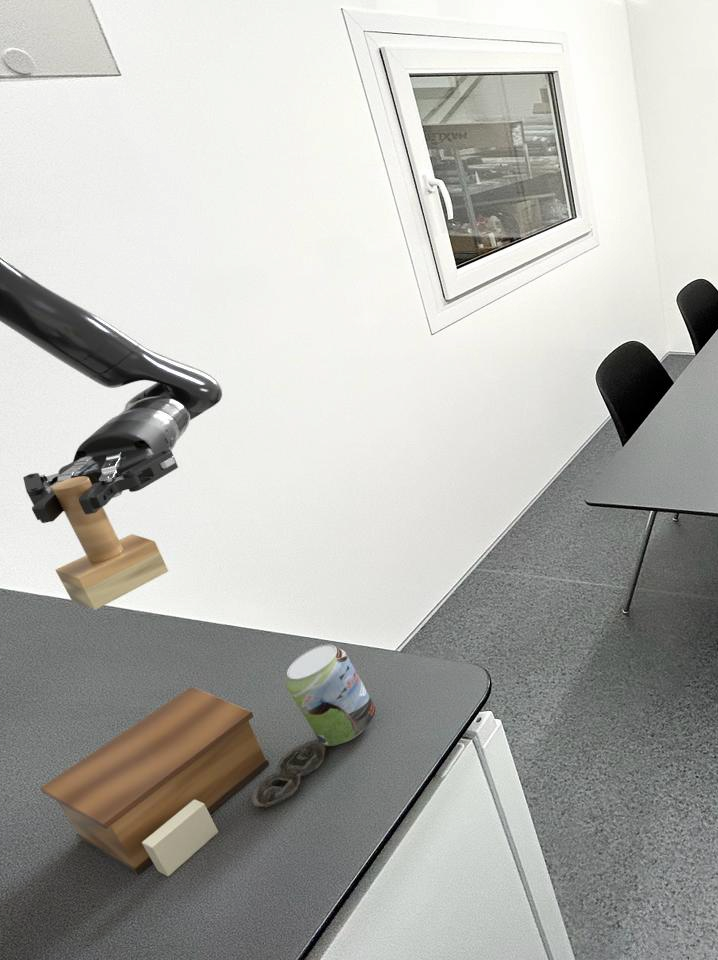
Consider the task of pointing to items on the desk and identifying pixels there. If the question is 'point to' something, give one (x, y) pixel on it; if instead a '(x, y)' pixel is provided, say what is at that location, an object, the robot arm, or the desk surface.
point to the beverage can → (330, 694)
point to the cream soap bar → (180, 837)
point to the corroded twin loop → (289, 774)
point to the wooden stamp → (103, 553)
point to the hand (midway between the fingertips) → (65, 510)
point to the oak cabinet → (158, 774)
